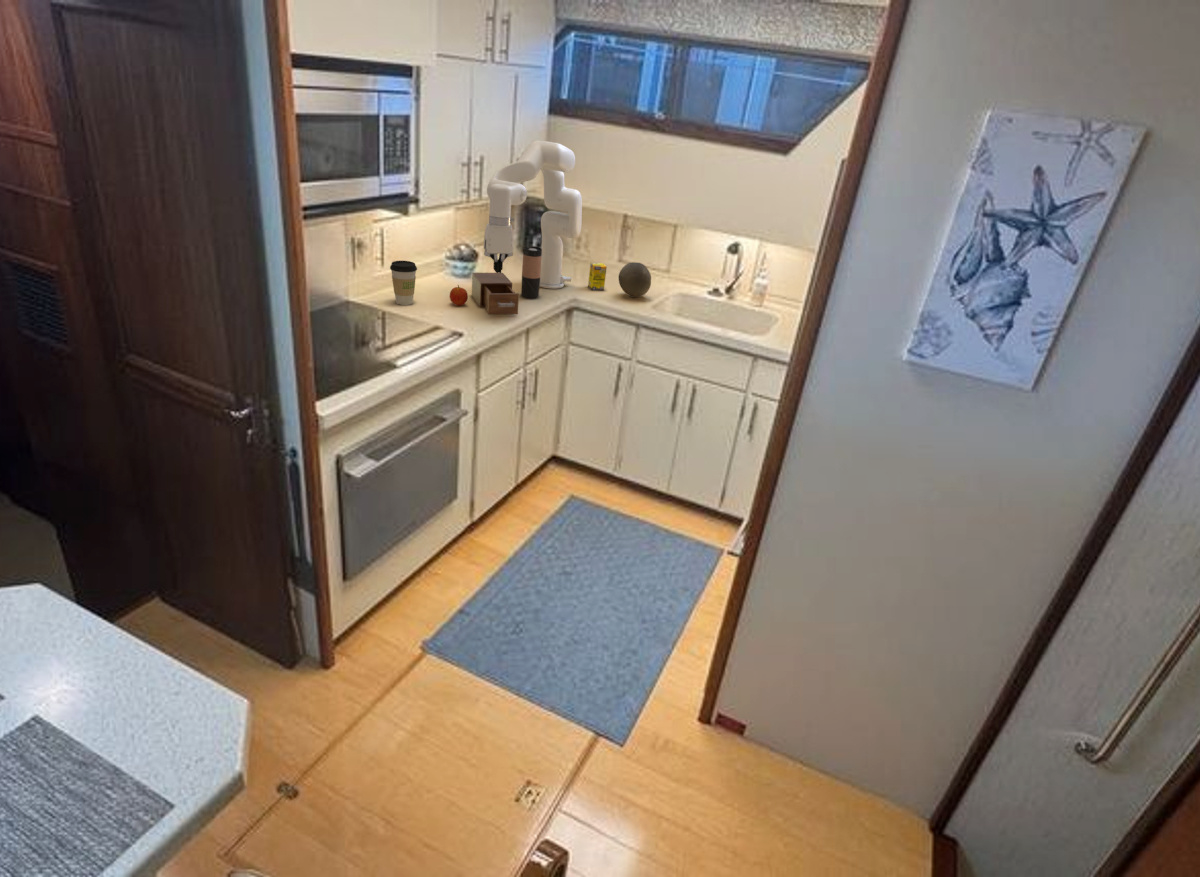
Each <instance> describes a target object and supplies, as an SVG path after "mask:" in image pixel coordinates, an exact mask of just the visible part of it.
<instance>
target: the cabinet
mask: <svg viewBox="0 0 1200 877" xmlns="http://www.w3.org/2000/svg"><path fill="white" fill-rule="evenodd" d="M471 274H472V275H471V297H472V299H473V300H474V301H475V302H476V304H477V305H478V307H479V308H486V307H485V306H484V304H483V303H482V292H483V285H509V286H510V288H511V289H512V290H513V281H511V280H510V279H509V277H507V276H506V274H505V273H503V272H501V273H499V272H498V273H496V272H471Z"/></svg>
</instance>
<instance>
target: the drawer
mask: <svg viewBox="0 0 1200 877" xmlns="http://www.w3.org/2000/svg"><path fill="white" fill-rule="evenodd" d="M519 298H520V294H519V293H518V292H515V291H514V290H513V288H512V289H511V288H510V286H509V285H483V292H482V303H483V304H484V306H485V307H484V308H485V309H486V310H487V314H488V315H519V314H518V313H519Z"/></svg>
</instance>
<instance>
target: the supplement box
mask: <svg viewBox="0 0 1200 877" xmlns="http://www.w3.org/2000/svg"><path fill="white" fill-rule="evenodd" d="M606 275H607V266H606V265H605V263H603V262H600V263H599V262H590V264H589V272H588V283H587V287H588V288H589V289H590V290H591V291H602V292H604V291H605V284H606V277H607V276H606Z"/></svg>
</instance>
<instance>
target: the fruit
mask: <svg viewBox="0 0 1200 877" xmlns="http://www.w3.org/2000/svg"><path fill="white" fill-rule="evenodd" d="M468 298H469V293H468V291H467V290H466V288H464V287H461V286H459V284H457V286H455V287H453V288H452V289H451V290H450V291H449V300H450V302H451V303H452V304H453V305H455V306H459V307H460V306H464V305H465V304H466V303H467V301H468V300H469V299H468Z"/></svg>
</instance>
